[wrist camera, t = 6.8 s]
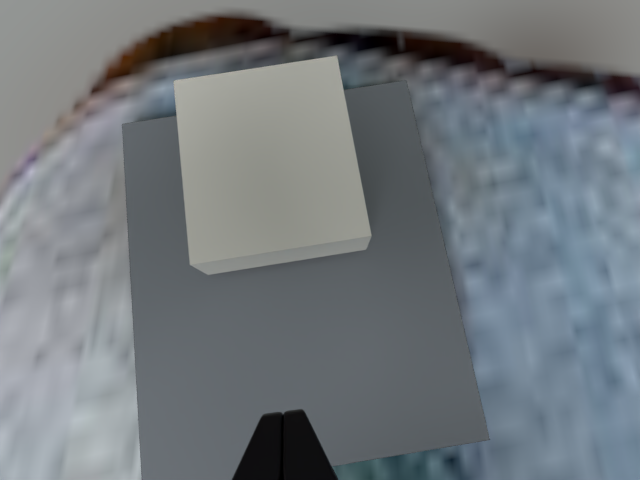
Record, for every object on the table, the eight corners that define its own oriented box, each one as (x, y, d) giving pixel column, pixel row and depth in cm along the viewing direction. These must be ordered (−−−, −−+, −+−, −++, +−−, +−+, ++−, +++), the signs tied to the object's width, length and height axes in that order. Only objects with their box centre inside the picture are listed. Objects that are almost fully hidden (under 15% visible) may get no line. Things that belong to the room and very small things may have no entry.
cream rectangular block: (371, 236, 17) (336, 55, 18) (189, 264, 16) (173, 80, 18) (365, 251, 19) (335, 92, 21) (209, 276, 19) (193, 114, 21)
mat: (481, 434, 18) (489, 440, 17) (152, 489, 18) (142, 498, 17) (402, 91, 22) (406, 80, 21) (131, 133, 22) (121, 123, 21)
